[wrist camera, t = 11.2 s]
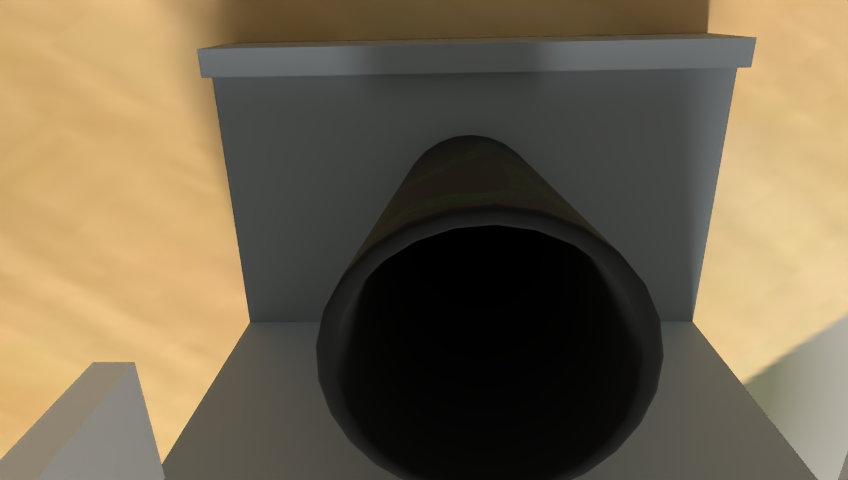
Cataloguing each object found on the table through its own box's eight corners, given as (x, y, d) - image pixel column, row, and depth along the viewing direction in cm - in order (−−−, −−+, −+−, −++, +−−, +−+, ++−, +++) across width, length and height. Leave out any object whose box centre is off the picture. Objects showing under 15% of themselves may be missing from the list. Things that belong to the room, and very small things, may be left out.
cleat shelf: (234, 43, 25) (-1, 82, 12) (708, 33, 24) (1023, 62, 11) (272, 317, 30) (138, 558, 17) (663, 317, 29) (842, 569, 16)
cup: (589, 240, 24) (710, 438, 13) (429, 309, 26) (414, 539, 15) (516, 72, 22) (587, 140, 11) (343, 160, 23) (248, 300, 12)
